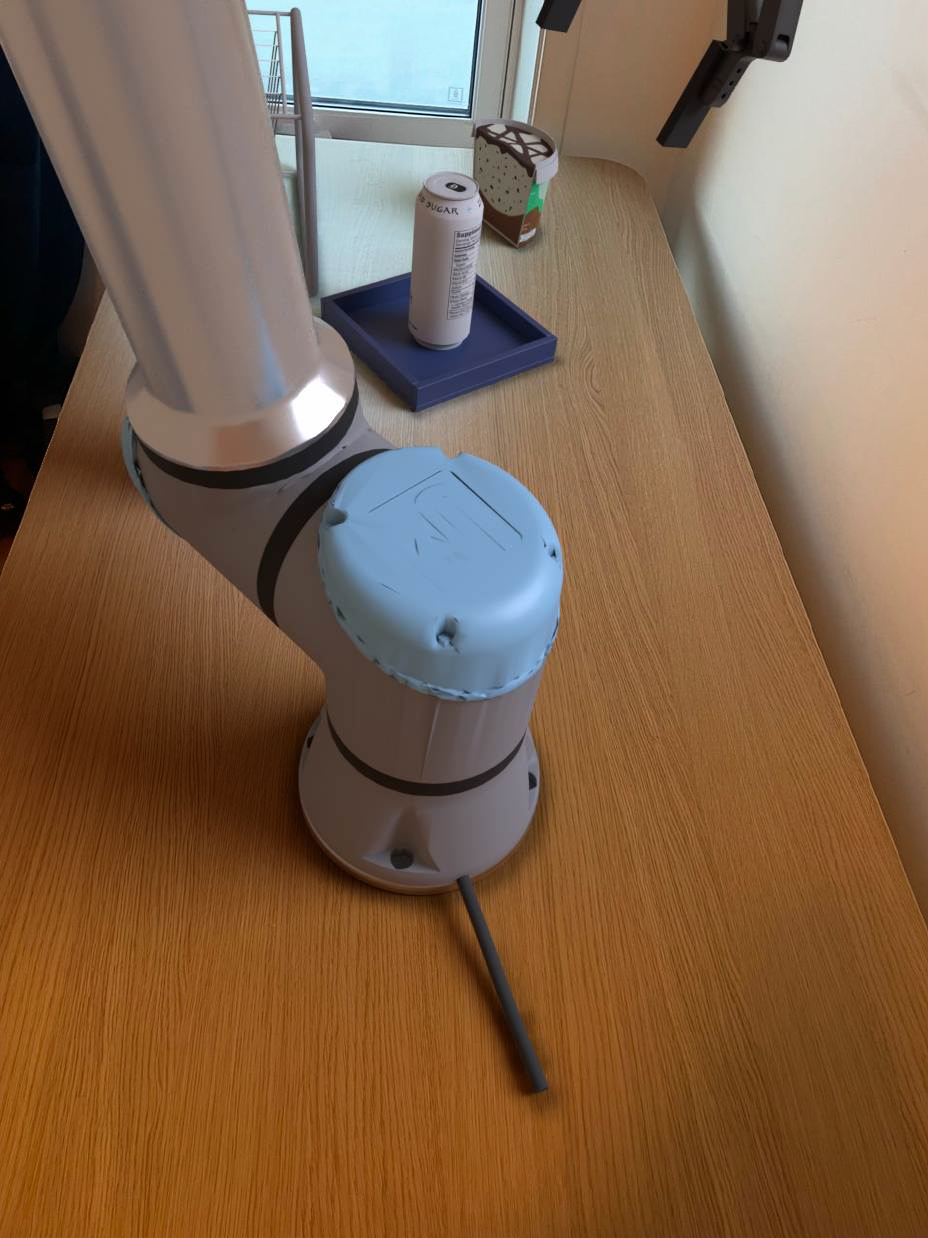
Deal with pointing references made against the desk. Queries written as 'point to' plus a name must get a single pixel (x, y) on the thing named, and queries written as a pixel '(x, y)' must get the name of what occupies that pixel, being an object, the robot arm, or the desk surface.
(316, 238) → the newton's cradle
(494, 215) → the food container
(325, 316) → the navy tray
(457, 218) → the energy drink can
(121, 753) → the desk surface
